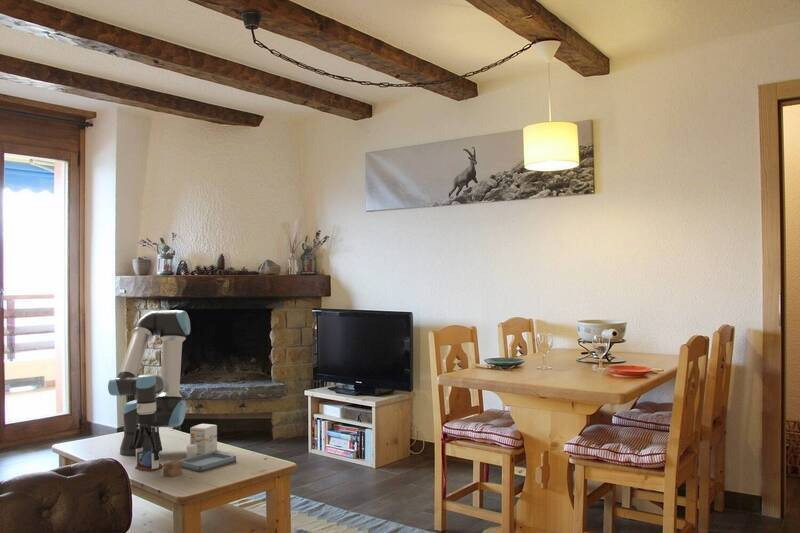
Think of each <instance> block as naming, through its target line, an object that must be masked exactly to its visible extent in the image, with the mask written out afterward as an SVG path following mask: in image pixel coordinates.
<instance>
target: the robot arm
mask: <svg viewBox="0 0 800 533" xmlns="http://www.w3.org/2000/svg"><path fill="white" fill-rule="evenodd" d="M190 333H191V320H190V317H189V315H188V313H187V311H185V310H178V309H174V310H152V311H149V312H147V313H145V314H144V315H142V316H141V317H140V318H138V320H137V321H136V322H135V323H134V325H133V326H132V329H131V331H130V336H131V338H130V341H129V342H128V343H129V344H128V346H127V349H126V351H125V355H124V358H123V361H122V363H121V367H120V369H119V371H118V375H117V377H113V378H110V379H109V381H108V384H107V390H108V393H109V395H110V396H114V397H115V396H118V397H121V396H136V399H134V400H131V401H130V400H129V401H128V402H125V403H124V406H123V436H122V440H121V444H120V447H119V454H121V455H124V456H135V466H136V465H137V452H141V451H145V454H146V453H147V452H149V451H151V448H152V451H153V452H151V453H152V469H156V468H159V463H160V460H159V458H160V452H161V451H163V447H162V441H161V436H160V429H159V428H175V427H179V426H181V425H182V424H183V422H184V420H185V417H186V413H187V402H186V400H184V399H183V396H182V394H180V387H181V386H180V385H181V383H180V382H181V371H182V370H181V368H182V366H181V365H182V350H183V342H184V341H186V339H187V338H186V337H187V336H188V335H190ZM155 336H159V339H160V340H161V341H162V350H161V351H162V352H161V353H162V354H161V366H160V367H161V369H160V375H155V374H141V375H138V373H139V370H140V368H141V364H142V361H143V358H144V356H145V354H146V350H147V347H148V344H149V342H151V340H152V339H153V337H155ZM142 454H143V453H142ZM142 454H139V464H140V459H141V458H142V457H141V455H142Z"/></svg>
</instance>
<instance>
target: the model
mask: <svg viewBox="0 0 800 533" xmlns="http://www.w3.org/2000/svg"><path fill="white" fill-rule="evenodd" d="M151 452H153V451H152V448H151V451H149V452H147V453H145V451H141V452H137V465H136V464H135V467H134V469H135V470H138V471H140V472H153V471H157V470H160V469H162V470H163V463H160V462H159V468H156V469H152V453H151ZM142 453H143V454H142ZM139 454H142V455H141V457H142V458H141V459H140V464H139ZM160 460H161V459H160V457H159V461H160Z"/></svg>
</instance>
